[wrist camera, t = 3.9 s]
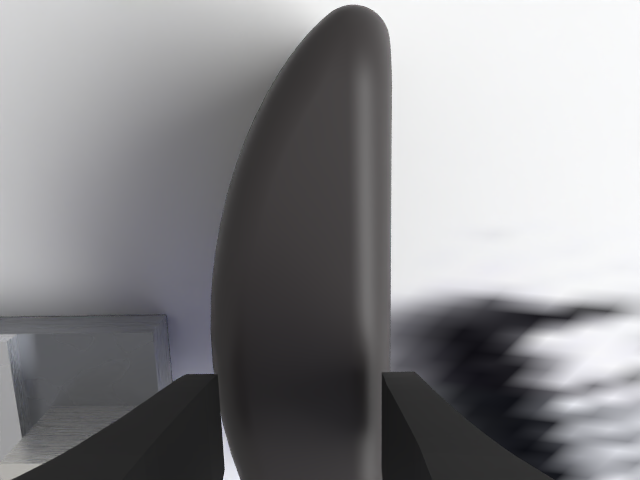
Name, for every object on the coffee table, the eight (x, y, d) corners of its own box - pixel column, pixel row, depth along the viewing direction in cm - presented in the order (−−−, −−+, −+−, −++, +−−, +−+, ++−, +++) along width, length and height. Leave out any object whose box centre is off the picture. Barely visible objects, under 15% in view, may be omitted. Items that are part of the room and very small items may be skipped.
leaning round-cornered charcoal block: (245, 48, 17) (178, -4, 10) (370, 45, 17) (401, -10, 10) (263, 446, 20) (222, 645, 12) (371, 445, 20) (395, 646, 12)
